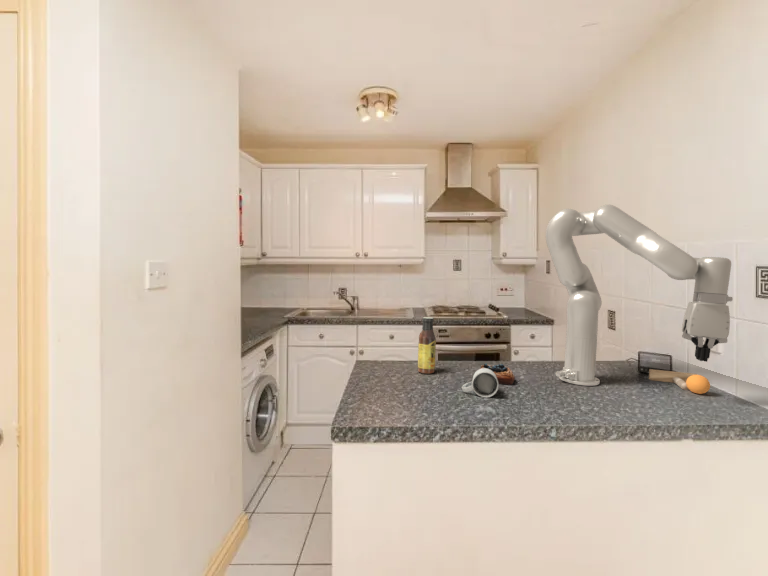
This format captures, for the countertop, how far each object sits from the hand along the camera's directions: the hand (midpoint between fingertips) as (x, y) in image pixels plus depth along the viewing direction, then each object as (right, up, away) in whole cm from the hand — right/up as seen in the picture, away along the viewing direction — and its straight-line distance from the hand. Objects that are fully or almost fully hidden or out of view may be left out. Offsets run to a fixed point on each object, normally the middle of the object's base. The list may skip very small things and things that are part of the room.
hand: (701, 360), depth 113 cm
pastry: (-56, -11, +17) cm, 60 cm away
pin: (+5, -11, +12) cm, 17 cm away
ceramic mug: (-66, -11, +3) cm, 66 cm away
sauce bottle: (-80, -9, +24) cm, 84 cm away
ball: (+6, -9, +9) cm, 14 cm away
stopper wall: (+7, -12, +21) cm, 25 cm away
